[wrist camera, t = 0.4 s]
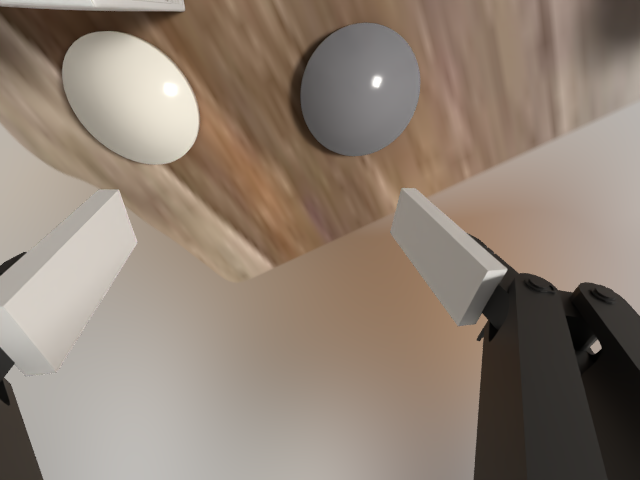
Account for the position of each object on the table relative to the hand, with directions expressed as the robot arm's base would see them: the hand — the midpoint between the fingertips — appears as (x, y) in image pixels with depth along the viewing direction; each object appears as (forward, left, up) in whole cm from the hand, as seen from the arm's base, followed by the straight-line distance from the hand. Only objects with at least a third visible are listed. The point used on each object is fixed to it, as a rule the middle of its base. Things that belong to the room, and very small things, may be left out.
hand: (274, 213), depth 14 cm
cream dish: (+13, -10, -23) cm, 28 cm away
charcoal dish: (-7, +4, -23) cm, 24 cm away
